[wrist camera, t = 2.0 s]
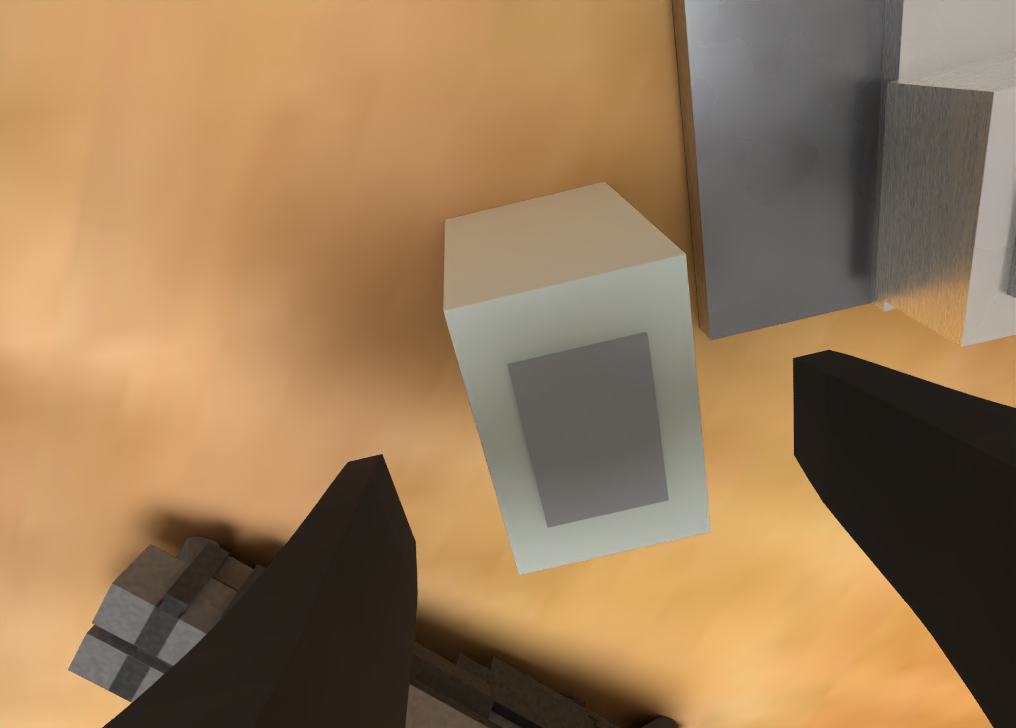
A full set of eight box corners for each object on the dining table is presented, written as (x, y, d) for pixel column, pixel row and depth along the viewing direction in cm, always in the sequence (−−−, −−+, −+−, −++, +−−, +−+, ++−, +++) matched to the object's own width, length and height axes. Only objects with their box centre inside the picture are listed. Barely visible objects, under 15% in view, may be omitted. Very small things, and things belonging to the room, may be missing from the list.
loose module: (604, 181, 16) (688, 256, 10) (634, 388, 18) (713, 536, 13) (444, 219, 16) (443, 315, 10) (498, 420, 18) (519, 580, 13)
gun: (649, 779, 26) (651, 1109, 17) (264, 500, 27) (56, 674, 17) (721, 717, 25) (765, 1042, 16) (311, 422, 25) (110, 565, 16)
